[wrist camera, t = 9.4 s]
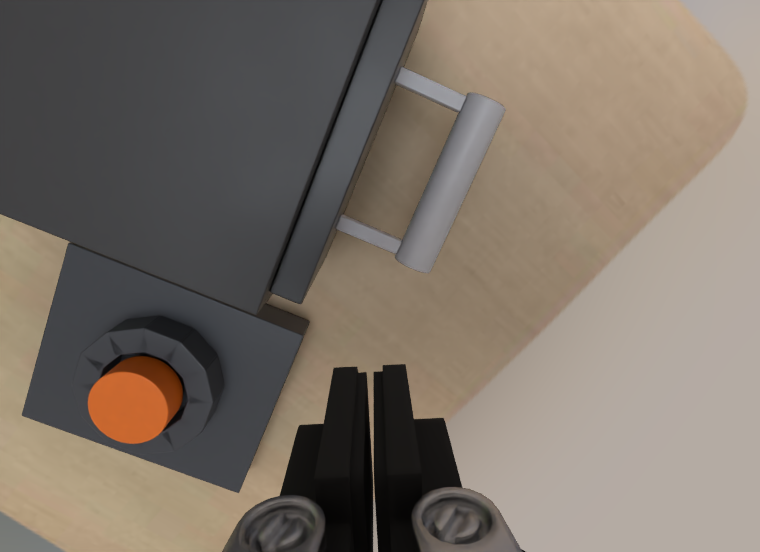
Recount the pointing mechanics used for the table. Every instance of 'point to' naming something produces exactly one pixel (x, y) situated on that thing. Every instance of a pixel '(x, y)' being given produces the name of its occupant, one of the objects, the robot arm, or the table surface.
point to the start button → (135, 399)
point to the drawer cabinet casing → (173, 127)
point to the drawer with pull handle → (353, 143)
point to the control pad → (173, 347)
